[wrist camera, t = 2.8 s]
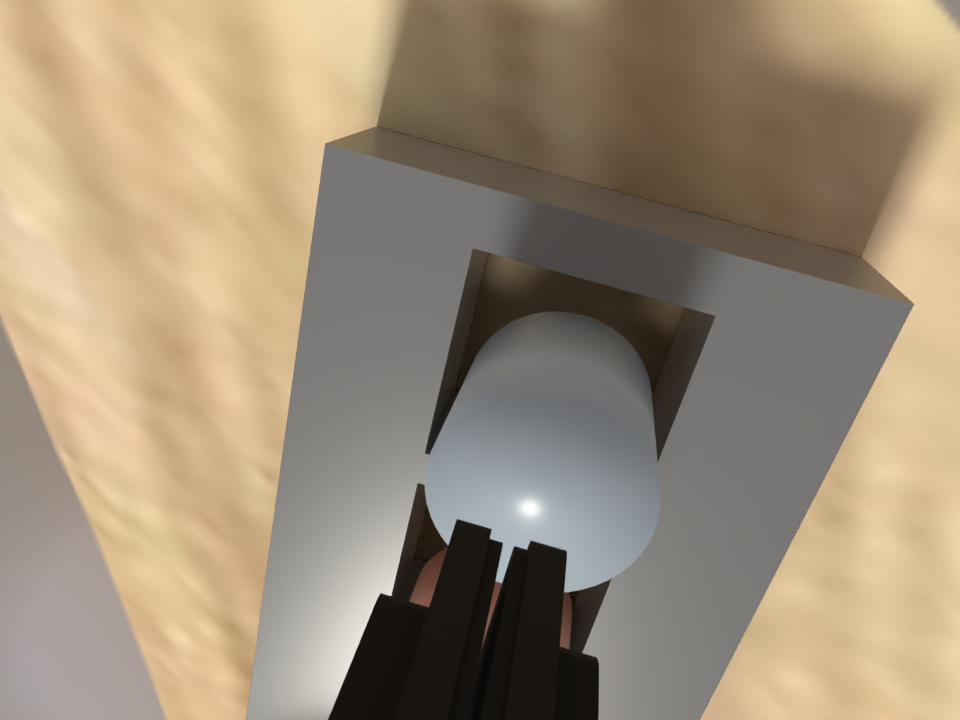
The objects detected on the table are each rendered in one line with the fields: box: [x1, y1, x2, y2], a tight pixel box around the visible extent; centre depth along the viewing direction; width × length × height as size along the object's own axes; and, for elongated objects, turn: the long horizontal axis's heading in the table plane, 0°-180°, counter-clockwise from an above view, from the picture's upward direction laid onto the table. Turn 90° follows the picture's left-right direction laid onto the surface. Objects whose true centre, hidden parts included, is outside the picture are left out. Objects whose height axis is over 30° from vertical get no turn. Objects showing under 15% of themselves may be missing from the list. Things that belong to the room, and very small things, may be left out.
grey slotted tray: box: [246, 127, 914, 720], centre depth 24 cm, size 14×23×4 cm, turn 167°
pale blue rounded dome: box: [425, 311, 660, 592], centre depth 17 cm, size 5×5×4 cm
